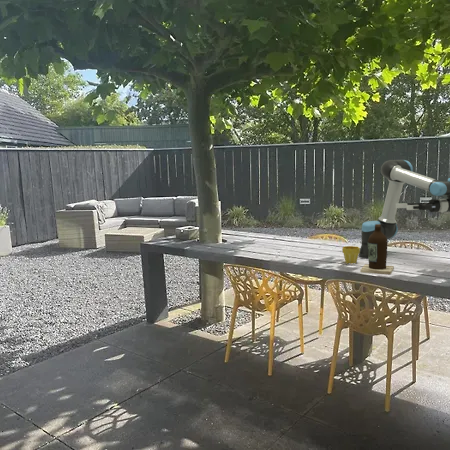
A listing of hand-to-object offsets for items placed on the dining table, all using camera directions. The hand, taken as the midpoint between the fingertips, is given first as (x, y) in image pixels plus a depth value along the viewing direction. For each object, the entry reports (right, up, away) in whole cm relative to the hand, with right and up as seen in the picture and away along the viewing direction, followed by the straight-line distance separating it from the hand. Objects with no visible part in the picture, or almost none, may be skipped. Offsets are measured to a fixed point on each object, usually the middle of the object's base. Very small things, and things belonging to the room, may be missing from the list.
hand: (401, 206), depth 246 cm
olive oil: (-14, -35, 0) cm, 38 cm away
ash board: (-14, -37, 0) cm, 39 cm away
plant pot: (-22, -34, +23) cm, 47 cm away
